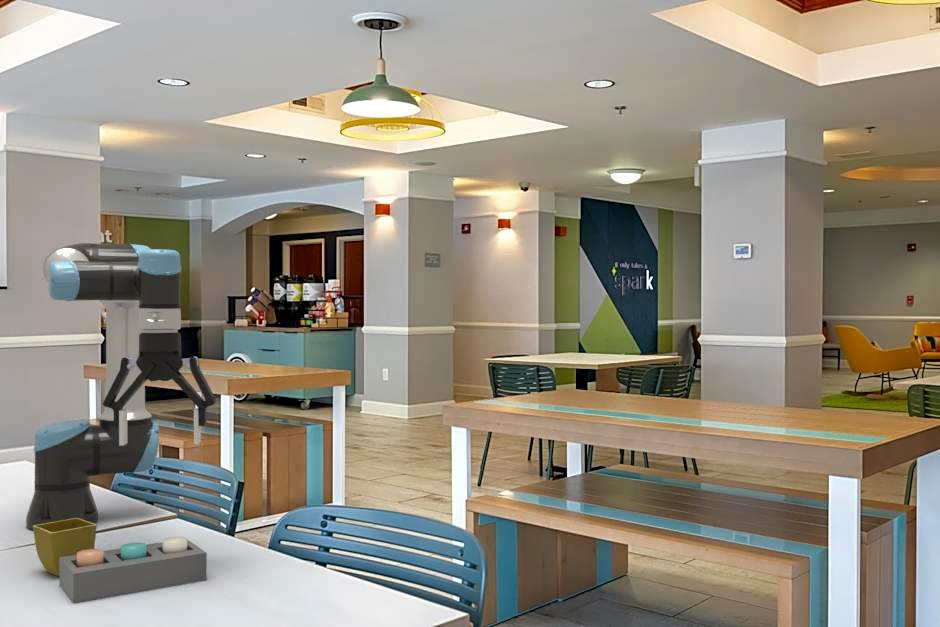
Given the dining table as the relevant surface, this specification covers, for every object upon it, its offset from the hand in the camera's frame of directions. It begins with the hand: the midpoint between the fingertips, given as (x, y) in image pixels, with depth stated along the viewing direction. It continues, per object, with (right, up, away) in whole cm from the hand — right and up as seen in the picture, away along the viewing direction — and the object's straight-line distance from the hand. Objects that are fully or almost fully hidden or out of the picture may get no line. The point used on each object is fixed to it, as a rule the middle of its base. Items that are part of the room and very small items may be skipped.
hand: (160, 444), depth 172 cm
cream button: (+3, -21, -1) cm, 21 cm away
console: (-3, -25, -5) cm, 25 cm away
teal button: (-3, -21, -5) cm, 22 cm away
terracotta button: (-9, -21, -10) cm, 25 cm away
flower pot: (-19, -25, +1) cm, 31 cm away
